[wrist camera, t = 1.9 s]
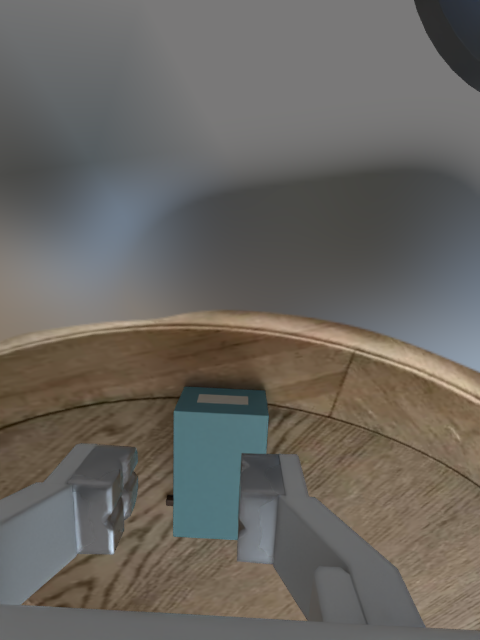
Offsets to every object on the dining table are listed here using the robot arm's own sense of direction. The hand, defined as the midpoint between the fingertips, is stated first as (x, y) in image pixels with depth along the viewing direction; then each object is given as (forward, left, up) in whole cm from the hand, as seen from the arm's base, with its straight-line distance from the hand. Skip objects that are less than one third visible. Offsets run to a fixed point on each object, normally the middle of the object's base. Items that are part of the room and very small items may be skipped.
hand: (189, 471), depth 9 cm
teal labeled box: (+11, 0, -19) cm, 22 cm away
